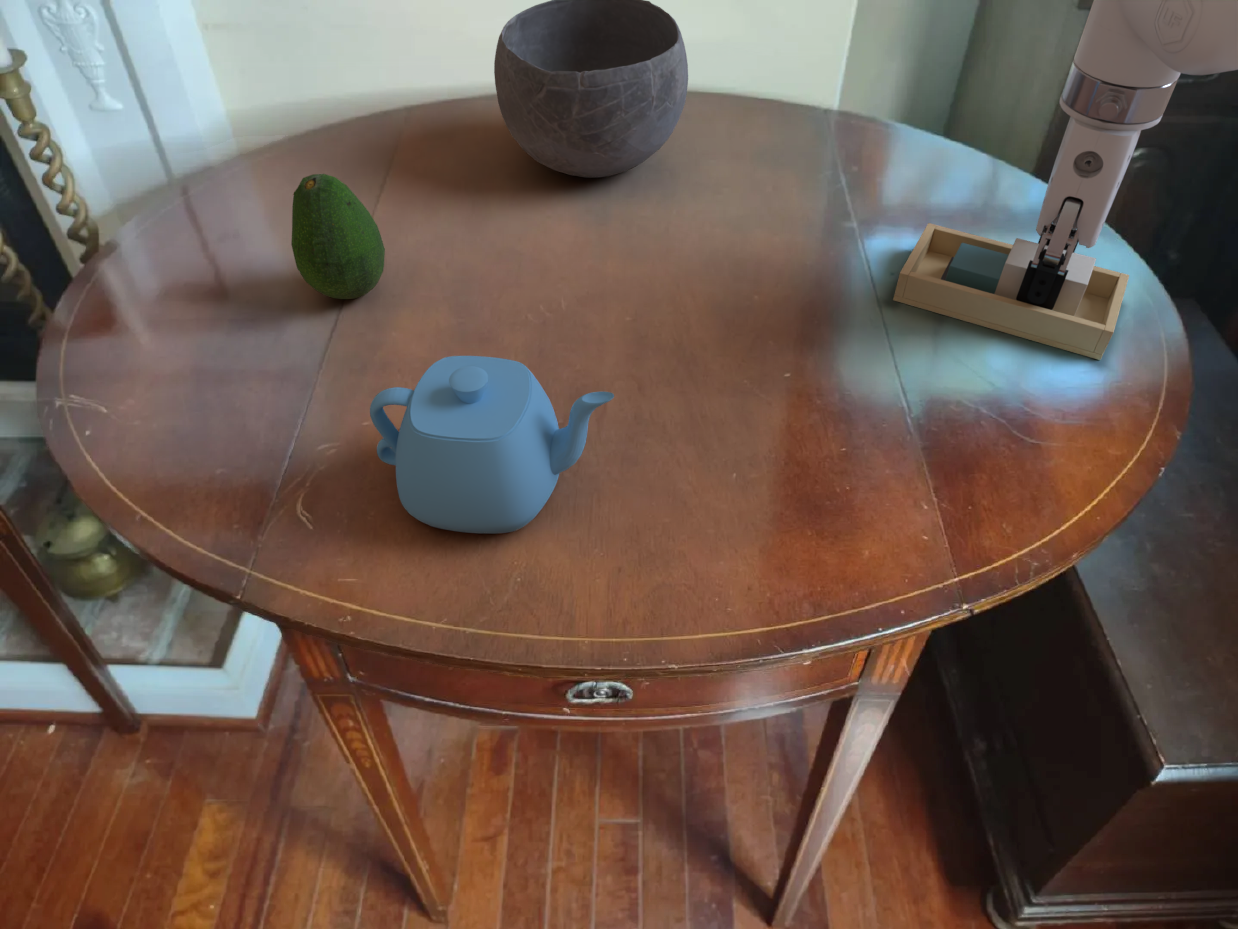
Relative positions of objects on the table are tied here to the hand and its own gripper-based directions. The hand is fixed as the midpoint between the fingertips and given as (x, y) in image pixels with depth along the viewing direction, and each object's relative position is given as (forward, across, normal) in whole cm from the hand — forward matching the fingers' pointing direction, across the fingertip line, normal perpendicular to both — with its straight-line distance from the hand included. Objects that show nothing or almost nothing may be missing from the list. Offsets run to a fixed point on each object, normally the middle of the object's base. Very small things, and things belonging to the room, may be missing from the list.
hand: (1042, 283), depth 86 cm
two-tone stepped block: (+2, 0, +2) cm, 3 cm away
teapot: (+3, -42, +32) cm, 53 cm away
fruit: (+3, -28, +58) cm, 64 cm away
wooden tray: (+3, 0, +2) cm, 4 cm away
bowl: (+3, +5, +50) cm, 50 cm away
